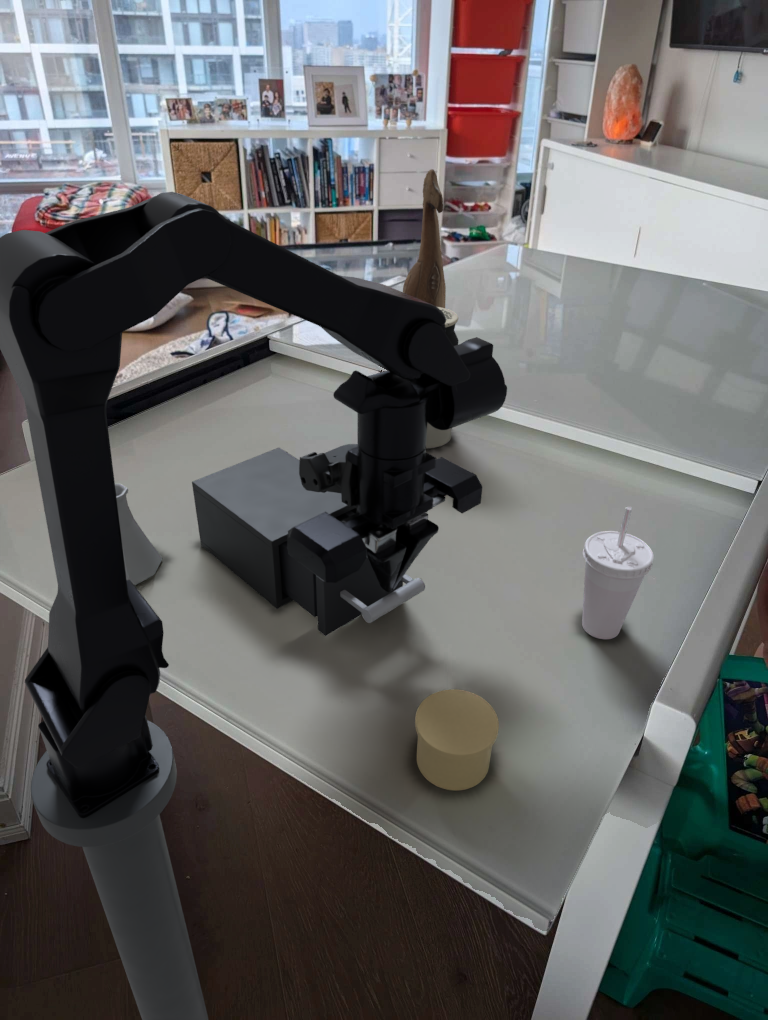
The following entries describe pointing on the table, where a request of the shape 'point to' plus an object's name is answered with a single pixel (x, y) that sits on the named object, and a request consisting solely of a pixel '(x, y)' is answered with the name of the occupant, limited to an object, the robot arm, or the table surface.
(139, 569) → the flask
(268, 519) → the mini filing cabinet
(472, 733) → the beige short cylinder
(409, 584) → the drawer
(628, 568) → the smoothie
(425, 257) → the bird sculpture
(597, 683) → the table surface
